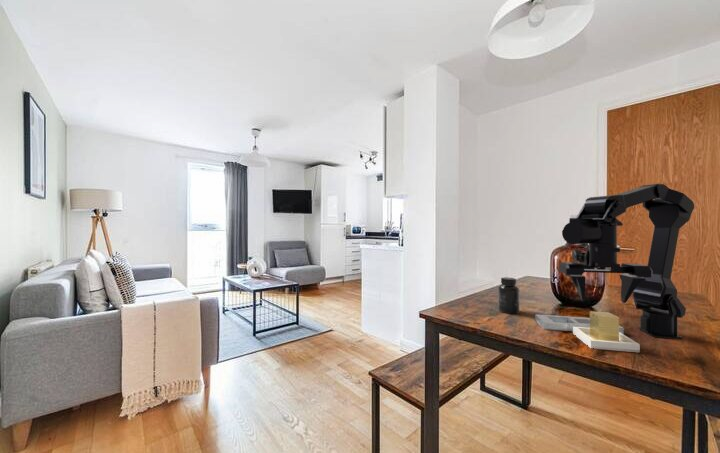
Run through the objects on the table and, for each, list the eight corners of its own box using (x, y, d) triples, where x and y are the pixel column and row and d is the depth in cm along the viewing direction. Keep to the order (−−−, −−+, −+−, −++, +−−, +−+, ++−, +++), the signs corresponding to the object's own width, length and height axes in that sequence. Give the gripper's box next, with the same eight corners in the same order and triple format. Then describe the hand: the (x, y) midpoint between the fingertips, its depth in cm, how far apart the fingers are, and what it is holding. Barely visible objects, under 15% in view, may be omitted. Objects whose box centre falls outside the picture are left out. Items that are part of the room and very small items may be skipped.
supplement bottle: (522, 314, 101) (521, 280, 101) (501, 313, 102) (500, 280, 102) (515, 308, 108) (515, 276, 107) (496, 308, 109) (495, 276, 109)
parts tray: (615, 336, 81) (615, 329, 81) (639, 352, 71) (639, 344, 71) (573, 333, 83) (572, 326, 83) (590, 348, 73) (590, 340, 73)
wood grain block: (609, 337, 79) (608, 312, 78) (619, 344, 74) (618, 317, 74) (589, 336, 80) (589, 311, 80) (598, 343, 75) (598, 316, 75)
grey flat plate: (607, 325, 89) (607, 318, 89) (623, 335, 82) (623, 327, 82) (535, 320, 95) (535, 314, 95) (543, 329, 87) (543, 322, 87)
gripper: (625, 241, 82) (626, 296, 82) (551, 241, 87) (551, 292, 87) (654, 244, 71) (654, 307, 71) (567, 243, 76) (567, 302, 76)
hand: (602, 301), depth 77 cm, fingers open, 9 cm apart
